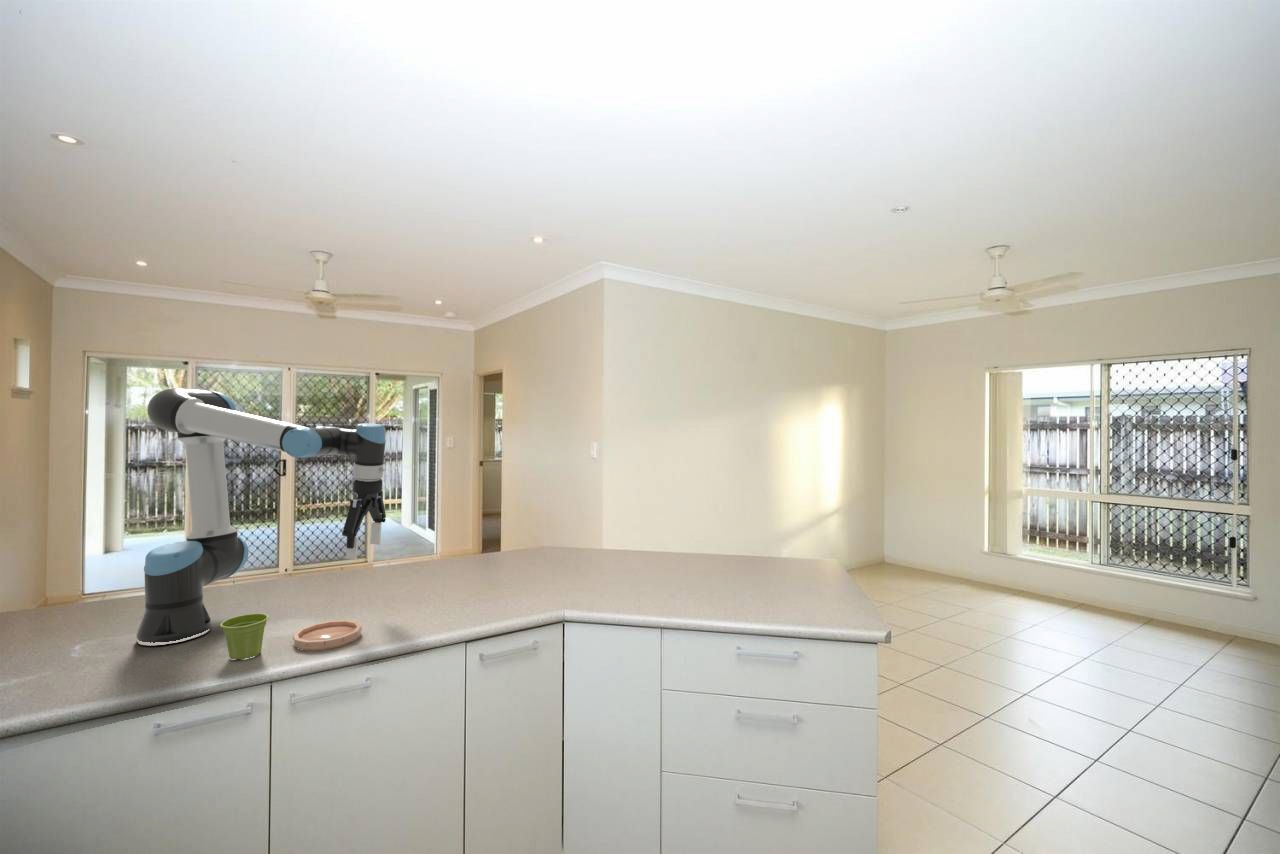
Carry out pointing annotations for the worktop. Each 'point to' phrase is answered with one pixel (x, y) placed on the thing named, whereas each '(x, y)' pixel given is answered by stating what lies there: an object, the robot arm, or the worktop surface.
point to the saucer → (327, 635)
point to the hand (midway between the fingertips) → (363, 551)
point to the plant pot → (244, 635)
